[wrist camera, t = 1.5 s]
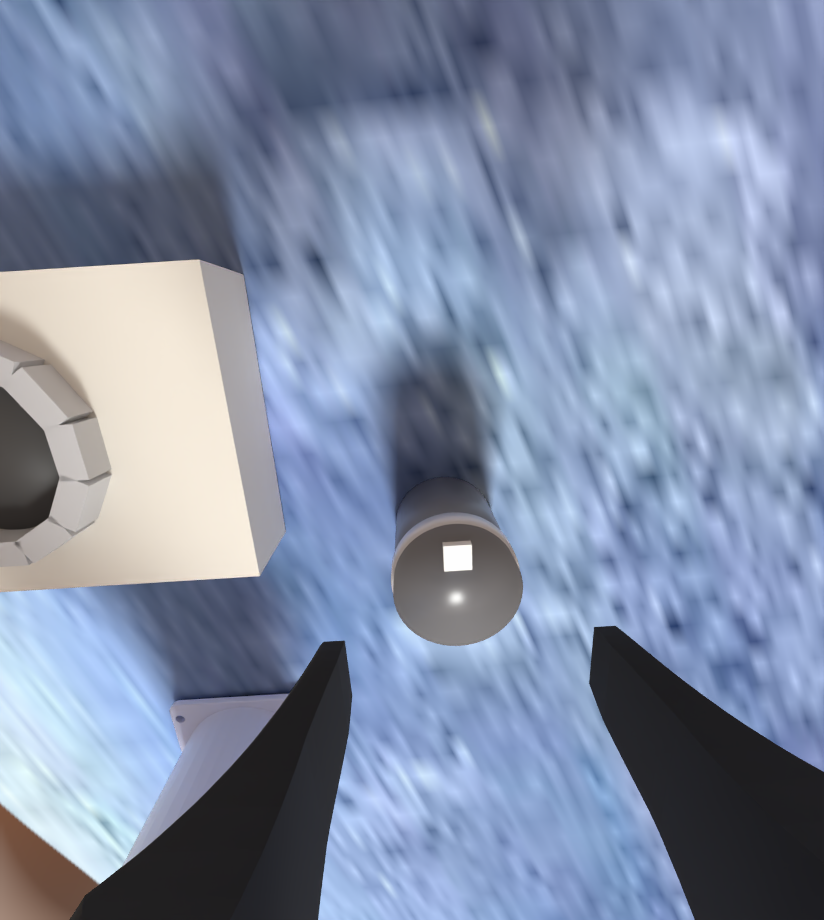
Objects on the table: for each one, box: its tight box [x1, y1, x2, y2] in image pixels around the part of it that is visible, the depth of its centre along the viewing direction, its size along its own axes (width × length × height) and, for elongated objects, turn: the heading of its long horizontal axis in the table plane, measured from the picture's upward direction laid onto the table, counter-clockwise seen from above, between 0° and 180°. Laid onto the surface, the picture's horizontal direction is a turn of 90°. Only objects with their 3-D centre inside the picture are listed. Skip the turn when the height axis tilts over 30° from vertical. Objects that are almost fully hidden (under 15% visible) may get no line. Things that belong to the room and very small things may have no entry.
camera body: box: [0, 260, 286, 592], centre depth 17 cm, size 12×18×5 cm, turn 93°
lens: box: [391, 477, 523, 646], centre depth 18 cm, size 5×5×6 cm
